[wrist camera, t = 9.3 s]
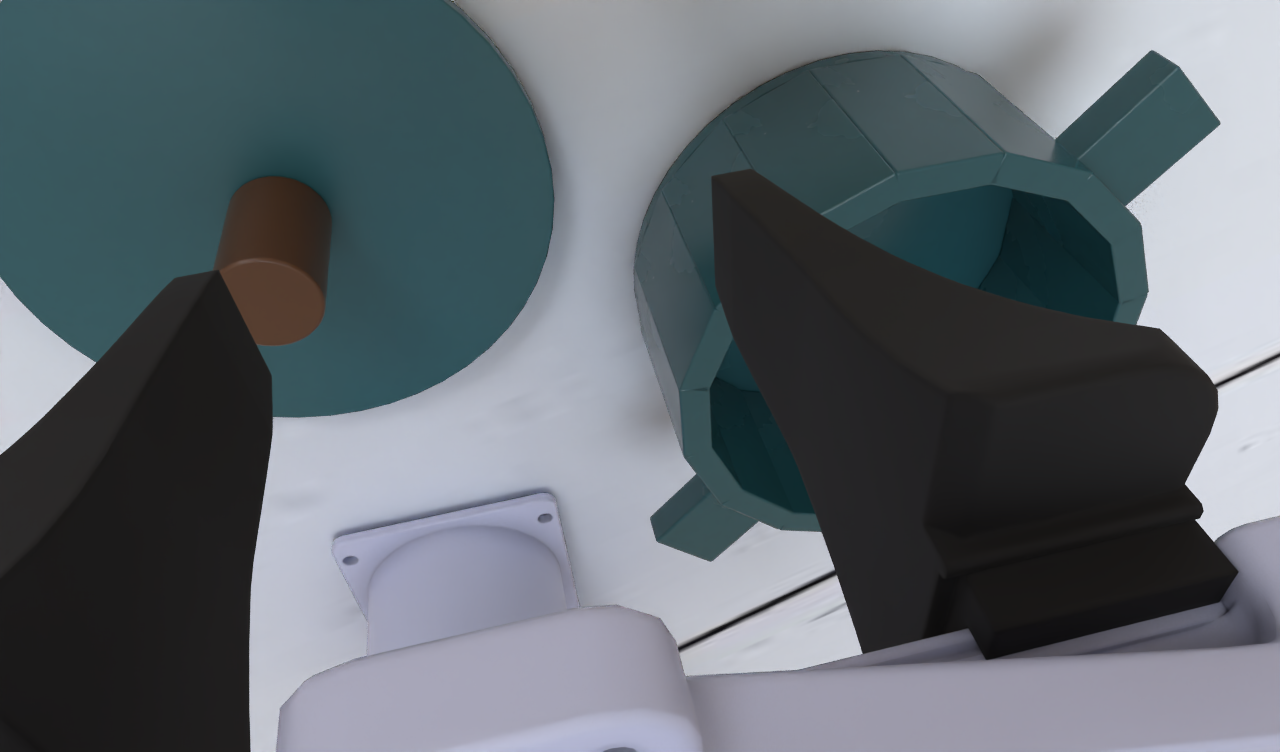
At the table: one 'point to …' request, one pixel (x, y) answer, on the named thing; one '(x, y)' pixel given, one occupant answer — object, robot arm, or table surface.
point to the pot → (891, 235)
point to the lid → (275, 181)
